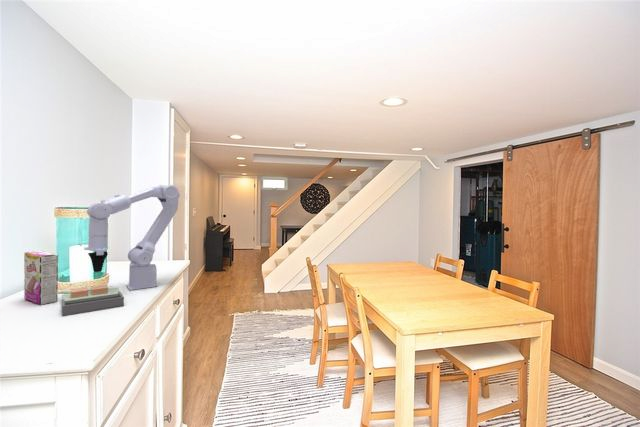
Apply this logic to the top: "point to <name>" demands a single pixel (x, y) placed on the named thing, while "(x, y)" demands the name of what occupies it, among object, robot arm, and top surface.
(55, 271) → the candy bar box
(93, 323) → the top surface
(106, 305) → the tray
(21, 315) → the top surface
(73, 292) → the tile
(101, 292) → the tile
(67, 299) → the board
